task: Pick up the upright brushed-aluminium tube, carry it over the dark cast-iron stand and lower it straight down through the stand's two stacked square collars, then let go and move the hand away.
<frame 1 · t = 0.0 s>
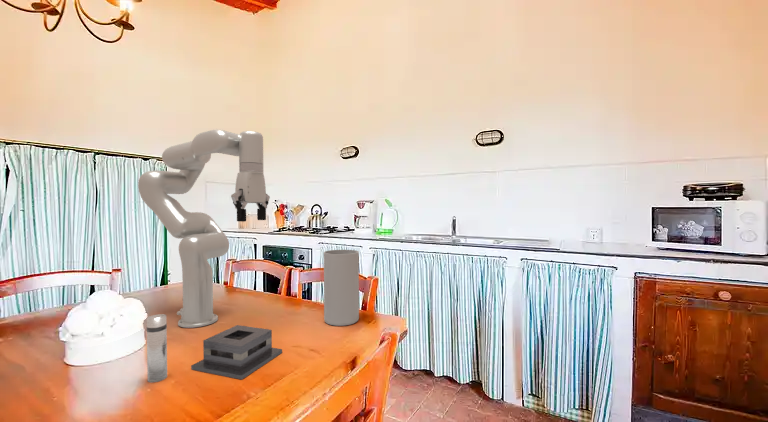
hand: (252, 220, 115), 37 cm above the table, tool pointing down, fingers open, 9 cm apart
cylinder vase: (341, 321, 125), on the table
collar stand: (239, 360, 93), on the table
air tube: (157, 378, 84), on the table
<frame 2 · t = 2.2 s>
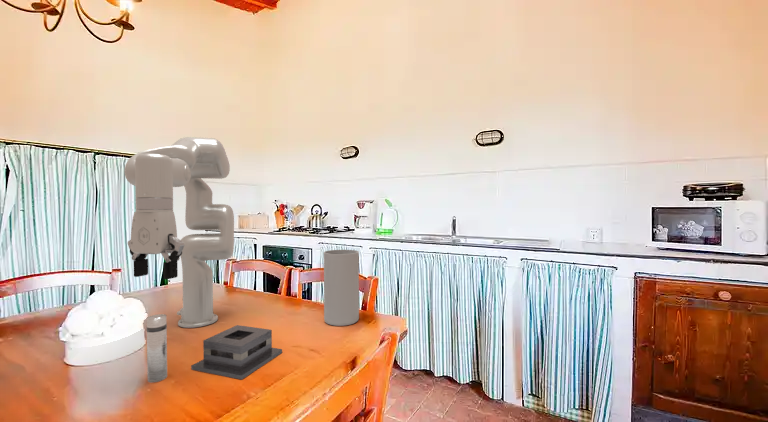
hand: (155, 277, 83), 25 cm above the table, tool pointing down, fingers open, 9 cm apart
nothing on the table moved.
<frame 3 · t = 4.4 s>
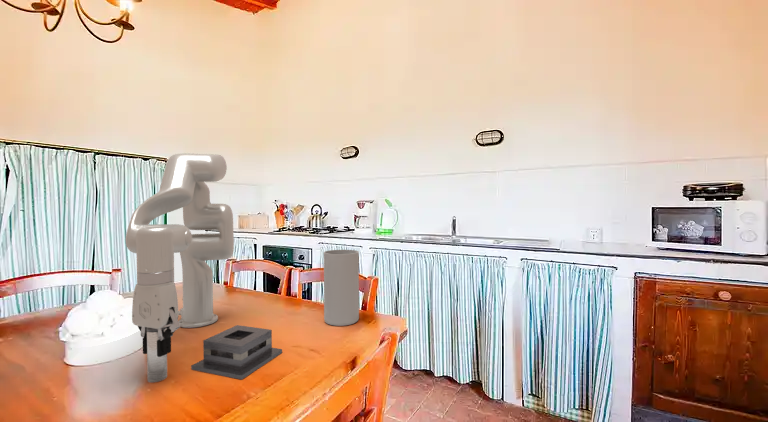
hand: (157, 352, 84), 6 cm above the table, tool pointing down, fingers closed on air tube, 4 cm apart
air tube: (157, 378, 84), on the table, touching gripper
everything else where it was.
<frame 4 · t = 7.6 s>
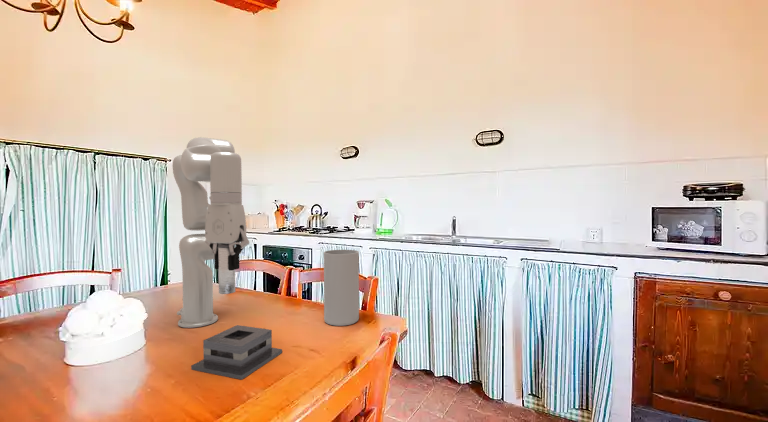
hand: (227, 268, 91), 25 cm above the table, tool pointing down, fingers closed on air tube, 4 cm apart
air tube: (227, 292, 91), point 19 cm above the table, touching gripper
everything else where it was.
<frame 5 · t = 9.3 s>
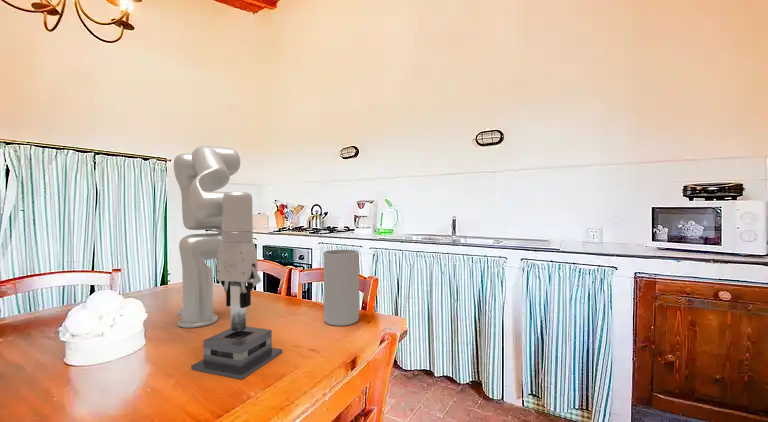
hand: (238, 305, 93), 15 cm above the table, tool pointing down, fingers closed on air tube, 4 cm apart
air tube: (238, 328, 93), point 9 cm above the table, touching gripper
everything else where it was.
when the fingers open (9 cm above the table, at t = 10.9 s): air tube drops 1 cm, resting on collar stand.
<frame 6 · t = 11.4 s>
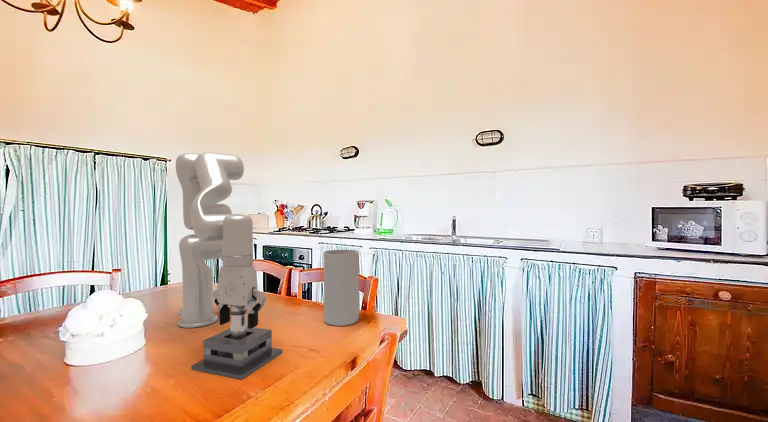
hand: (238, 324, 93), 10 cm above the table, tool pointing down, fingers open, 9 cm apart
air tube: (238, 356, 93), point 1 cm above the table, touching collar stand
everything else where it was.
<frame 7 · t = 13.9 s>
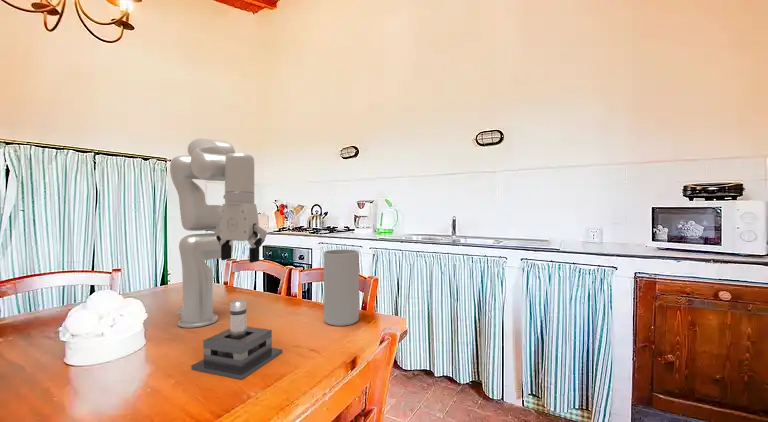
hand: (240, 260, 96), 27 cm above the table, tool pointing down, fingers open, 9 cm apart
nothing on the table moved.
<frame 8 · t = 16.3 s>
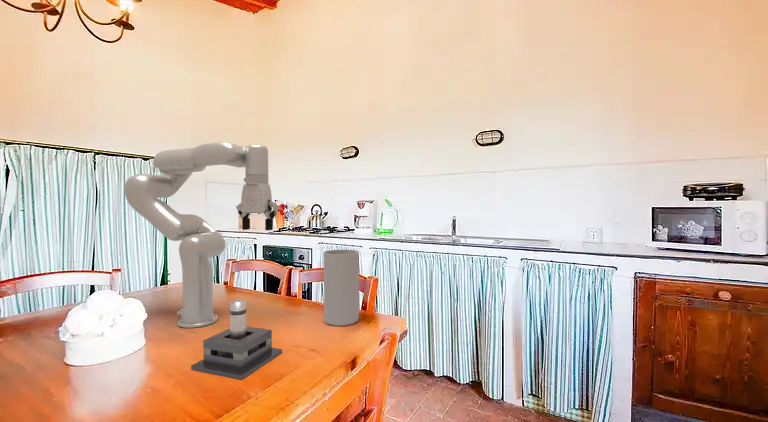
hand: (257, 229, 121), 33 cm above the table, tool pointing down, fingers open, 9 cm apart
nothing on the table moved.
at the end: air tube 0.1 cm off-centre on the collar stand, point 1.0 cm above the collar stand's base; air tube tilted 0°; the gripper is holding nothing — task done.
